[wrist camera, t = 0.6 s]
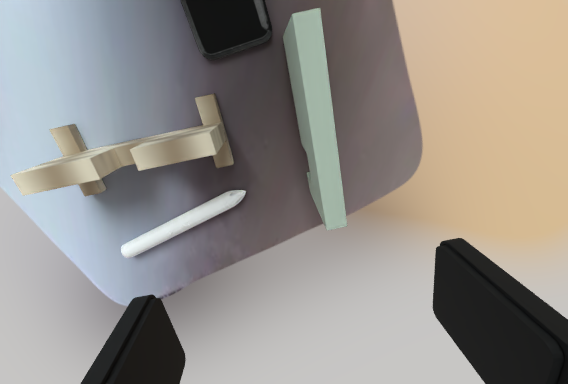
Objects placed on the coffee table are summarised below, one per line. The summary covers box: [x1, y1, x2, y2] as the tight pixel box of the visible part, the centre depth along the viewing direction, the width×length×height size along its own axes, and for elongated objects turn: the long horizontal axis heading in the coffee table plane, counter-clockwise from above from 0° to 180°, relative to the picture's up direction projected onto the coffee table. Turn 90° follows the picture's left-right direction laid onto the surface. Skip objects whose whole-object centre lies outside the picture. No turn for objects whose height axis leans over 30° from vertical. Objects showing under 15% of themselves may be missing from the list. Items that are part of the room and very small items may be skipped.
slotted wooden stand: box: [10, 94, 234, 196], centre depth 28 cm, size 18×8×8 cm, turn 101°
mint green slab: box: [283, 8, 347, 230], centre depth 27 cm, size 18×2×10 cm, turn 11°
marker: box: [121, 190, 246, 258], centre depth 34 cm, size 18×2×2 cm, turn 117°
